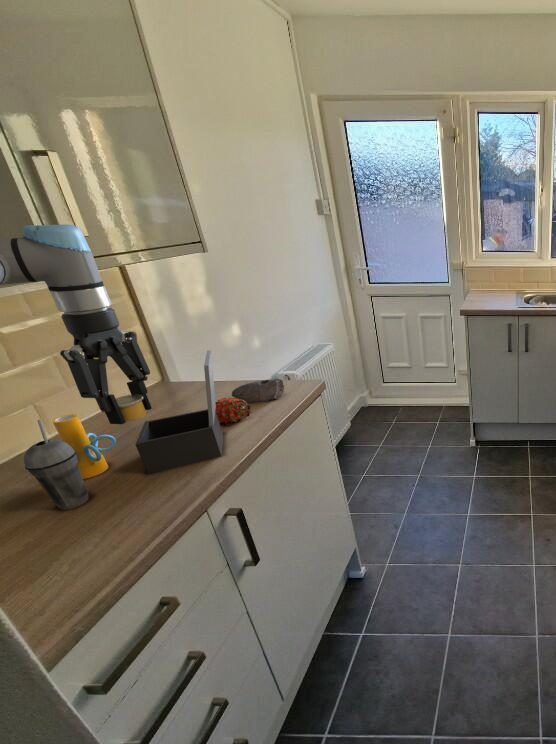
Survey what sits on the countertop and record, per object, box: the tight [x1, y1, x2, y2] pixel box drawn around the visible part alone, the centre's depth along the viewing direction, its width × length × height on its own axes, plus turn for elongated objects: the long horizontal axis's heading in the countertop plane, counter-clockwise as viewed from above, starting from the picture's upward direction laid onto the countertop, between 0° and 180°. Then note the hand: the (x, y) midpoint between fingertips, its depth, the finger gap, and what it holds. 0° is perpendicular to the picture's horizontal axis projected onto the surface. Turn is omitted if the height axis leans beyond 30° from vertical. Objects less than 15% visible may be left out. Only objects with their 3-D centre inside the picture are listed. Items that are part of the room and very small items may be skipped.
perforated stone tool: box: [231, 378, 285, 404], centre depth 133 cm, size 15×5×7 cm, turn 107°
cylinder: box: [51, 413, 117, 480], centre depth 95 cm, size 12×10×15 cm
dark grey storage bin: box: [135, 408, 224, 475], centre depth 104 cm, size 15×13×9 cm
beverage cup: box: [23, 419, 90, 511], centre depth 84 cm, size 7×7×20 cm
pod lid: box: [203, 350, 216, 426], centre depth 103 cm, size 16×13×1 cm
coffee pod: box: [115, 393, 147, 423], centre depth 88 cm, size 6×6×4 cm
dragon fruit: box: [215, 396, 252, 426], centre depth 120 cm, size 8×8×12 cm
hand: (131, 415), depth 89 cm, fingers closed on coffee pod, 6 cm apart
